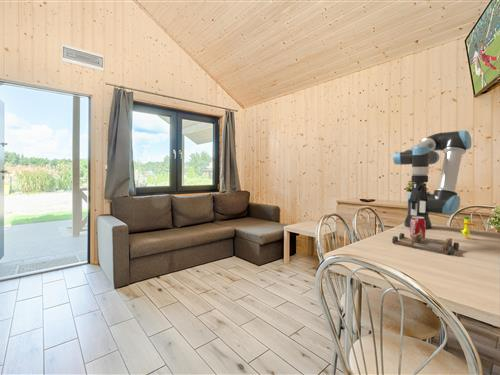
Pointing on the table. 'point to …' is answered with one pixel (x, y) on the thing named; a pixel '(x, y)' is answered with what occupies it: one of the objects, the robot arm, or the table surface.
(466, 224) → the toy figure
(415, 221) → the soda can
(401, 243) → the chassis
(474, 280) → the table surface
